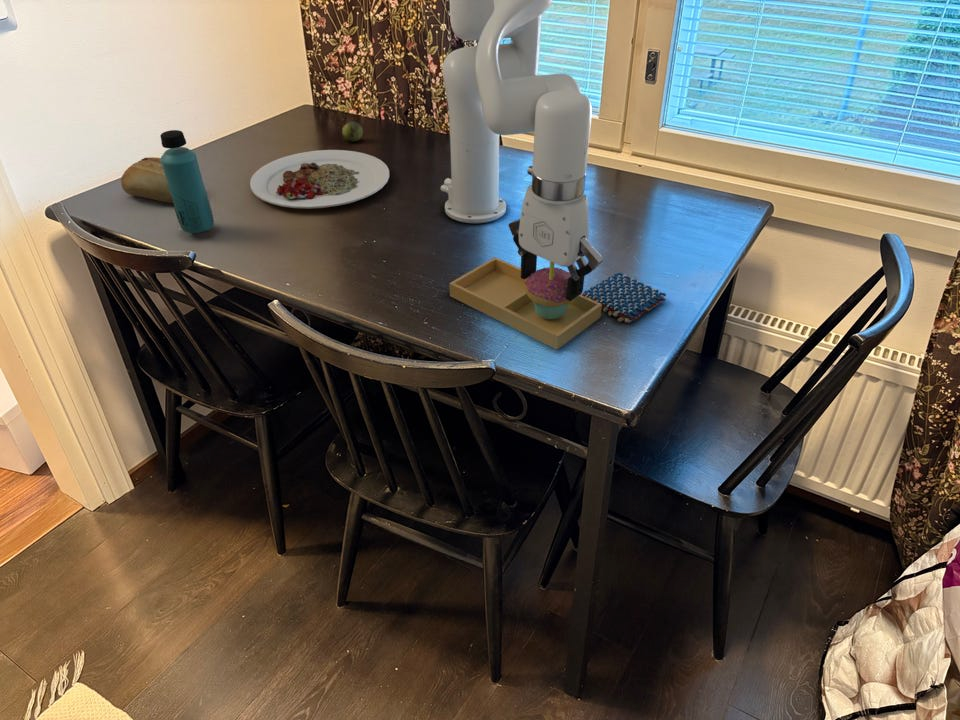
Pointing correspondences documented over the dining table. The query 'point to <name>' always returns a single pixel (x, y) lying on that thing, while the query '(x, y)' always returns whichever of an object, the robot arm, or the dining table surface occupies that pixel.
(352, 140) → the lime
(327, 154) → the plated food
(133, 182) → the bread roll
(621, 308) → the woven mat
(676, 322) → the dining table surface
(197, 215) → the beverage bottle
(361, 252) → the dining table surface
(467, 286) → the divided tray
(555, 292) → the cupcake
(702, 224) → the dining table surface
